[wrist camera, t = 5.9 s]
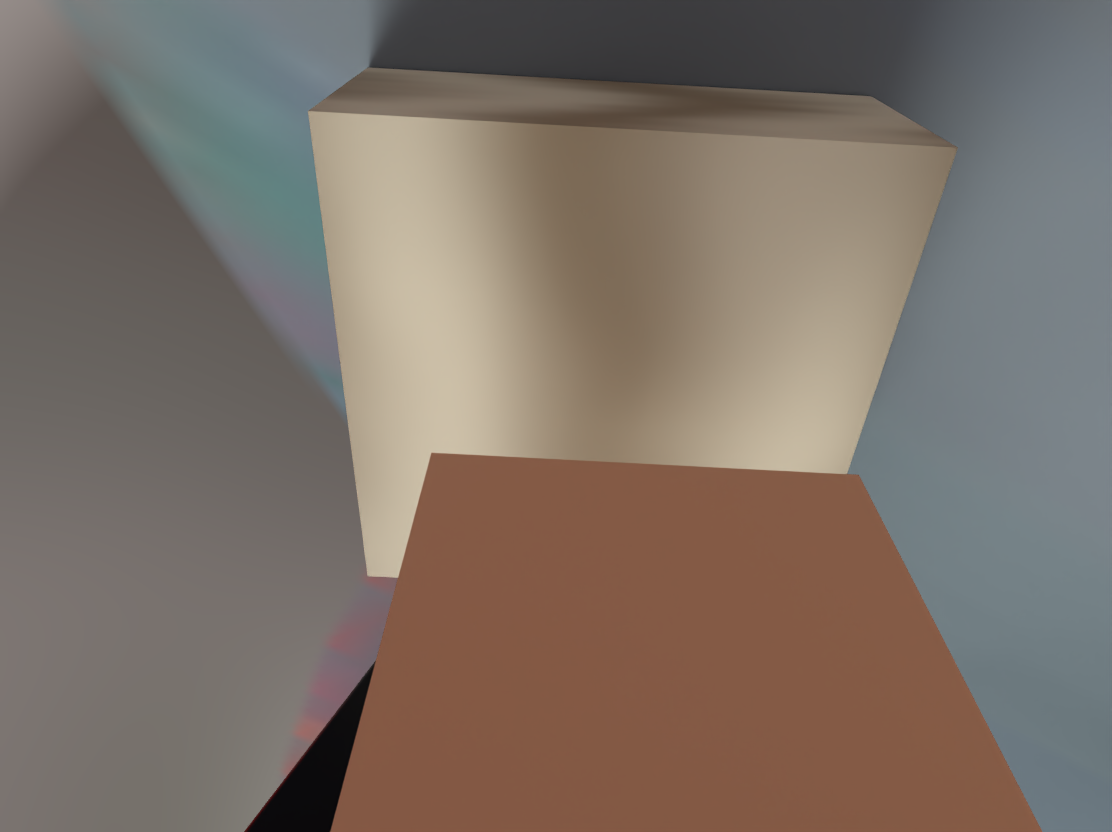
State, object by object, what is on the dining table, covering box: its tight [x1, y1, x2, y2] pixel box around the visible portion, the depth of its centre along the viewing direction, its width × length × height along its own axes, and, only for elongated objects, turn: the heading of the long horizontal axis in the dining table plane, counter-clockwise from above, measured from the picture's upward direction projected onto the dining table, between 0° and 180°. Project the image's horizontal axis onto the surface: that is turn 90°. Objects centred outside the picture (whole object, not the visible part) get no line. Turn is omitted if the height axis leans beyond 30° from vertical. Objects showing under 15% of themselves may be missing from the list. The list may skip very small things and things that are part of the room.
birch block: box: [308, 68, 958, 578], centre depth 16 cm, size 10×10×4 cm
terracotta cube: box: [330, 453, 1042, 832], centre depth 8 cm, size 5×5×5 cm
